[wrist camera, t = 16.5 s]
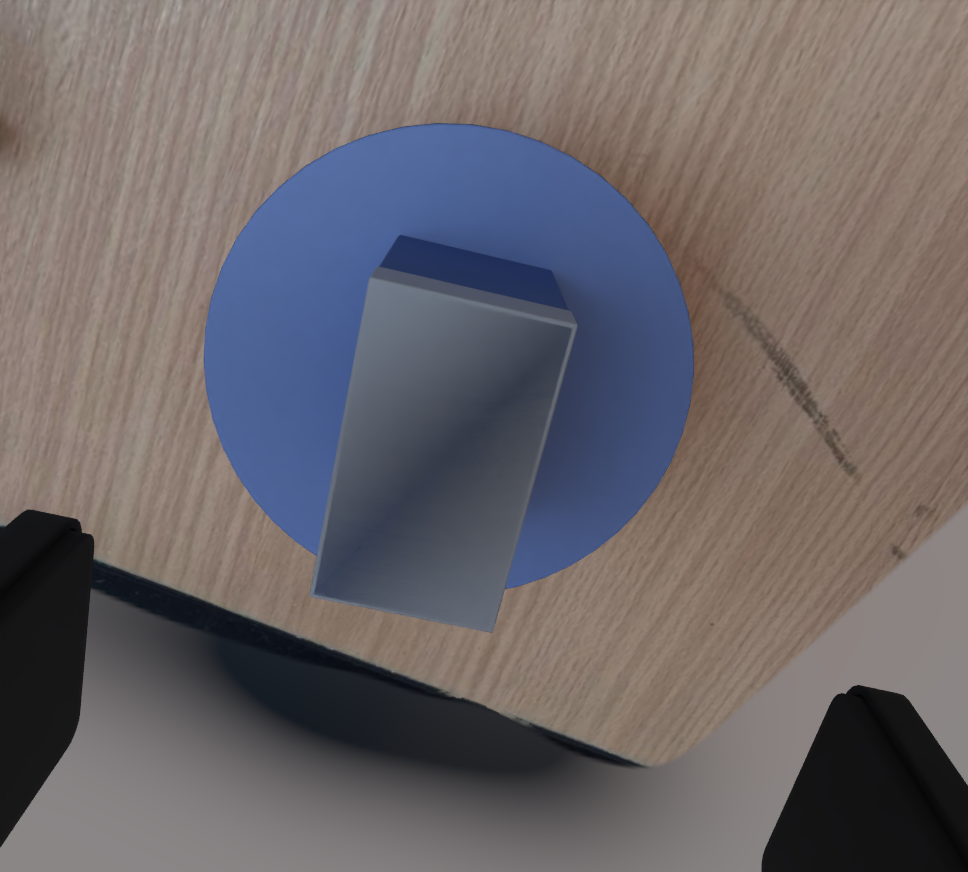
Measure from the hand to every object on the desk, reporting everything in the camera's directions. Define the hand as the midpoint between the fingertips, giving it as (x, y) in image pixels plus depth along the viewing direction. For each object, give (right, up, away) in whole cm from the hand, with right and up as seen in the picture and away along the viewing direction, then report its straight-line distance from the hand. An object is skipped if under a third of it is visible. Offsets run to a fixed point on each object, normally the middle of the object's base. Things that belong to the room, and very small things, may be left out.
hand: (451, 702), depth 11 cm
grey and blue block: (-1, +5, +13) cm, 13 cm away
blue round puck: (-1, +7, +19) cm, 21 cm away
